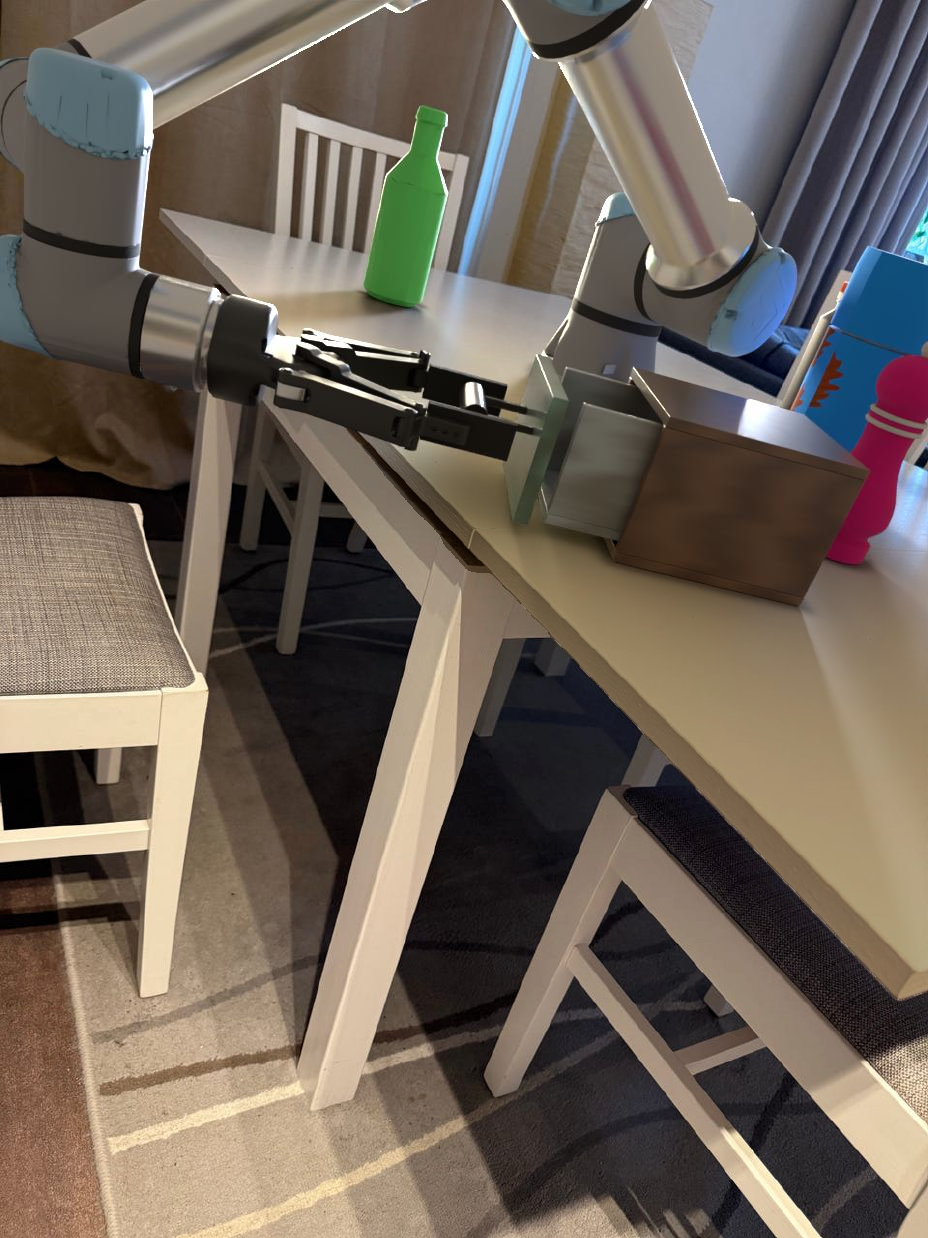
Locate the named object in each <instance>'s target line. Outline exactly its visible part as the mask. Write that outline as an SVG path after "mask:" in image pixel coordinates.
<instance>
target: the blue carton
mask: <svg viewBox="0 0 928 1238" xmlns="http://www.w3.org/2000/svg"><path fill="white" fill-rule="evenodd" d="M848 282H849V283H848V285H847V287H846V289H845V291H844V294H843V296H842V298H841V300H840V302H839V305H838V307H837V309H836V311H835V313H834V315H833V318H832V320H831V322H830V323H831V324H832V325H829V326H828V328H827V331H826V333H825V335H824V337H823V339H822V342H821V344H820V346H819V348H818V350H817V352H816V355H815V357H814V359H813V361H812V363H811V366H810V368H809V370H808V372H807V374H806V376H805V379H804V381H803V383H802V385H801V387H800V389H799V392H798V394H797V396H796V398H795V400H794V403H793V405H792V407H791V409H790V411H794V412H797V413H801V414H804V415H805V416H806V417H808V418H809V419H810V420H811V421H812V422H813V423H815V424H816V425H817V426H818V427H819V428H821V429H822V430H823V431H824V432H825V433H827V434H828V435H829V436H830V437H831V438H832V439H834V440H835V441H836V442H837V443H838V444H840V445H841V446H842V447H843V448H844V449H845V450H847V451H848V452H849V453H850V452H851V451H852V450H853V449H854V448H855V446H856V445H857V443H858V441H859V440H860V438H861V436H862V435H863V432H864V430H865V427H866V425H867V423H868V420H867V419H866V418H865V416H866V414H868V413H869V411H870V410H871V408H870V406H871V404H874V403H877V402H878V397H877V393H876V382H877V379H878V377H879V375H880V373H881V372H882V370H883V369H884V368H885V367H886V366H887V365H888V364H889V363H890V362H891V361H893V360H894V359H896V358H899V357H902V356H908V355H918V356H922V354H921V350H922V347H923V345H924V344H925V343H926V342H928V264H927V263H924V262H921V261H918V260H915V259H913V258H910V257H909V258H908V257H905V256H902V255H899V254H896V253H892V252H889V251H886V250H883V249H879V248H876V247H873V246H869V245H867V246H866V248H865V250H864V251H863V253H862V255H861V257H860V258H859V260H858V262H857V263H856V266H855V267H854V269H853V272H852V274H851V277H850V279H849V281H848Z"/></svg>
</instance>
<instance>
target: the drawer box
mask: <svg viewBox="0 0 928 1238" xmlns="http://www.w3.org/2000/svg"><path fill="white" fill-rule="evenodd" d="M628 383H629V384H632V385H636V386H637V387H638V388H639V390H640V391H641V392H642V394H643V395H644V397H645V398H646V399H647V401H648V402H649V404H650V405H651V407H652V408H653V409H654V411H655V412H656V414H657V415H658V416H659V418H660V419H661V421H662V422H663V423H664V425H663V427H662V430H661V432H660V435H659V438H658V440H657V443H656V445H655V448H654V450H653V453H652V455H651V458H650V461H649V463H648V466H647V468H646V471H645V473H644V476H643V478H642V481H641V484H640V486H639V489H638V491H637V494H636V496H635V499H634V501H633V504H632V507H631V509H630V512H629V514H628V517H627V519H626V522H625V524H624V527H623V530H622V532H621V535H620V537H619V540H618V541H616V540H612V539H608V538H604V541H605V543H606V547H607V549H608V552H609V554H610V556H611V559H612V561H613V562H614V563H617V564H623V565H626V566H630V567H634V568H639V569H642V570H646V571H647V570H648V571H651V572H656V573H660V574H663V575H668V576H672V577H675V578H676V577H677V578H679V579H683V580H689V581H693V582H697V583H702V584H705V585H710V586H714V587H718V588H721V589H722V588H723V589H727V590H730V591H734V592H738V593H743V594H746V595H750V596H755V597H759V598H763V599H768V600H772V601H776V602H781V603H784V604H788V605H792V606H797V607H800V606H801V605H802V603H803V601H804V599H805V597H806V595H807V593H808V591H809V590H810V587H811V586H812V584H813V582H814V580H815V578H816V576H817V574H818V573H819V570H820V569H821V567H822V565H823V563H824V561H825V559H826V555H827V553H828V551H829V549H830V547H831V546H832V544H833V542H834V540H835V538H836V536H837V534H838V532H839V530H840V528H841V526H842V524H843V523H844V521H845V519H846V517H847V515H848V513H849V511H850V509H851V507H852V505H853V503H854V501H855V500H856V498H857V496H858V494H859V492H860V490H861V488H862V486H863V484H864V482H865V480H866V479H867V477H868V475H869V473H870V470H869V469H868V468H867V467H866V466H864V465H863V464H862V463H861V462H860V461H858V460H857V459H856V458H855V457H854V456H853V455H851V454H850V453H849V452H848V451H847V450H845V449H844V448H843V447H842V446H841V445H840V444H838V443H837V442H836V441H835V440H834V439H832V438H831V437H830V436H829V435H828V434H827V433H825V432H824V431H823V430H822V429H821V428H819V427H818V426H817V425H816V424H815V423H813V422H812V421H811V420H810V419H809V418H808V417H806V416H805V415H804V414H801V413H797V412H794V411H790V410H786V409H783V408H780V406H775V405H772V404H769V403H766V402H765V403H764V402H761V401H758V400H754V399H750V398H747V397H743V396H739V395H735V394H731V393H729V392H725V391H722V390H717V389H715V388H712V387H711V388H710V387H706V386H703V385H699V384H695V383H692V382H689V381H685V380H681V379H677V378H675V377H671V376H667V375H663V374H660V373H656V372H655V373H653V372H649V371H646V370H642V369H638V368H635V367H633V369H632V372H631V375H630V378H629V380H628Z"/></svg>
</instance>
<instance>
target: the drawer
mask: <svg viewBox="0 0 928 1238" xmlns="http://www.w3.org/2000/svg"><path fill="white" fill-rule="evenodd" d="M530 369H531V370H530V373H529V376H528V379H527V383H526V386H525V388H524V393H523V396H522V399H521V402H520V403H516V402H512V401H510V400H509V401H508V400H505V399H504V400H501V399H498V398H494V397H490V396H486V395H485V394H484V390H483V388H482V387H481V386H480V385H479V384H477V383H474V382H469V383H466V384H465V385H463V386H462V388H461V389H460V392H459V400H460V409H464V410H468V411H472V412H476V413H479V414H483V415H487V416H491V417H495V418H499V419H502V420H506V421H510V422H514V423H517V425H518V427H517V431H516V434H515V437H514V440H513V444H512V447H511V450H510V453H509V456H508V460H507V462H506V461H502V471H503V475H504V482H505V487H506V492H507V498H508V504H509V509H510V515H511V520H512V523H513V524H517V525H522V526H526V527H528V526H529V523H530V521H531V518H532V515H533V511H534V509H535V506H536V503H537V500H538V501H539V507H540V510H541V514H542V517H543V521H544V524H546V525H551V526H555V527H559V528H563V529H568V530H572V531H576V532H580V533H584V534H589V535H593V536H596V537H601V538H603V539H605V538H608V539H612V540H616V541H618V540H619V537H620V535H621V532H622V530H623V527H624V524H625V522H626V519H627V517H628V514H629V512H630V509H631V507H632V504H633V501H634V499H635V496H636V494H637V491H638V489H639V486H640V484H641V481H642V478H643V476H644V473H645V471H646V468H647V466H648V463H649V461H650V458H651V455H652V453H653V450H654V448H655V445H656V443H657V440H658V438H659V435H660V432H661V430H662V427H663V425H664V423H663V422H662V421H661V419H660V418H659V416H658V415H657V414H656V412H655V411H654V409H653V408H652V407H651V405H650V404H649V402H648V401H647V399H646V398H645V397H644V395H643V394H642V392H641V391H640V390H639V388H638V387H637V386H636V385H632V384H629V383H625V382H621V381H618V380H614V379H610V378H607V377H603V376H599V375H596V374H592V373H588V372H585V371H581V370H577V369H574V368H570V367H565V370H564V373H563V376H562V379H561V382H560V380H559V377H558V375H557V373H556V371H555V368H554V366H553V364H552V362H551V359H550V358H549V357H546V356H543V355H542V354H539V353H536V354H535V357H534V360H533V363H532V366H531V368H530ZM486 405H489V406H493V407H496V408H500V409H501V410H504V411H508V412H512V413H515V414H517V415H516V417H515V420H512V419H508V418H504V417H500V416H499V417H497V416H493V415H490V414H488V413H487V407H486Z"/></svg>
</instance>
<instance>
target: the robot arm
mask: <svg viewBox="0 0 928 1238" xmlns="http://www.w3.org/2000/svg"><path fill="white" fill-rule="evenodd" d="M425 1H427V0H143V1H142V2H140V3H138V4H136V5H134V6H132V7H129V8H128V9H126V10H124V11H122V12H120V13H118V14H116V15H114V16H112V17H110V18H108V19H106V20H104V21H102V22H100V23H99V24H97V25H94V26H93V27H91V28H89V29H87V30H85V31H82V32H81V33H79V34H77V35H75V36H73V37H72V38H70V39H69V40H67V41H65V42H62V43H59V44H57V45H55V46H53V47H38V48H35V49H33V51H32V52H31V53H30V54H29V57H27V56H21V57H12V58H7V59H4V60H1V61H0V156H2V158H4V159H5V161H6V162H7V163H8V164H10V165H11V166H13V167H15V168H16V170H19V171H20V172H21V173H22V174H23V175H24V176H23V180H24V181H23V218H22V229H21V234H18V235H15V234H3V235H0V341H1V342H3V343H6V344H9V345H12V346H16V347H18V348H21V349H25V350H28V351H32V352H35V353H37V354H41V355H44V356H46V357H47V358H49V359H52V360H57V361H66V362H70V363H74V364H77V365H78V364H79V365H82V366H88V367H92V368H95V369H100V370H105V371H109V372H113V373H118V374H121V375H125V376H131V377H134V378H137V379H139V380H146V381H149V382H153V383H159V384H162V388H163V390H164V391H166V392H167V393H174V392H175V391H176V390H177V389H180V390H181V389H182V390H185V391H189V392H194V393H200V392H201V391H204V390H205V388H206V387H207V391H208V393H209V394H210V395H211V397H212V398H215V399H218V400H221V401H222V400H223V401H226V402H230V403H234V404H238V405H242V406H247V407H249V408H255V407H257V406H259V404H261V402H262V400H263V399H264V396H265V393H266V391H267V388H269V389H273V390H274V395H273V401H272V405H274V406H275V407H277V408H279V409H284V410H287V411H294V412H298V413H302V414H306V415H309V416H311V417H314V418H317V419H320V420H323V421H326V422H329V423H331V424H334V425H338V426H341V427H343V428H347V429H348V430H349V429H350V430H352V431H355V432H358V433H361V434H364V435H366V436H369V437H373V438H375V439H378V440H381V441H384V442H387V443H389V444H393V445H396V446H398V447H400V448H403V450H406V451H409V452H415V451H417V449H418V445H419V442H420V441H424V442H428V443H431V444H436V445H440V446H443V447H448V448H451V449H456V450H459V451H463V452H467V453H472V454H475V455H478V456H483V457H488V458H491V459H495V460H497V461H502V462H503V461H506V462H507V460H508V456H509V453H510V450H511V447H512V444H513V440H514V437H515V434H516V431H517V427H518V425H517V423H514V422H510V421H506V420H502V419H499V418H495V417H491V416H487V415H483V414H479V413H476V412H472V411H468V410H464V409H460V400H459V392H460V389H461V388H462V386H463V385H465V384H466V383H469V382H474V383H477V384H479V385H480V386H481V387H482V388H483V390H484V394H485V395H486V396H490V397H494V398H498V399H501V400H505V398H506V395H507V391H508V388H509V386H508V383H504V382H502V381H501V382H500V381H497V380H493V379H490V378H485V377H482V376H478V375H475V374H471V373H467V372H463V371H460V370H456V369H452V368H449V367H445V366H441V365H437V364H433V363H430V359H431V356H432V354H431V352H429V351H426V350H423V349H420V351H419V353H418V352H417V351H410V350H404V349H398V348H394V347H390V346H384V345H380V344H375V343H369V342H364V341H359V340H355V339H350V338H343V337H341V336H340V337H339V336H334V335H330V334H327V333H323V332H320V331H318V330H317V331H316V330H314V329H312V328H303V329H302V332H301V335H300V337H293V336H287V335H285V336H284V335H282V334H280V333H279V332H278V327H279V313H278V310H277V308H276V306H274V304H271V303H267V302H264V301H260V300H257V299H253V298H249V297H246V296H242V295H238V294H235V293H231V294H230V295H226V296H225V297H224V298H222V295H221V293H220V291H219V289H217V288H215V287H211V286H207V285H203V284H199V283H196V282H192V281H188V280H184V279H182V278H181V279H180V278H177V277H173V276H169V275H165V274H161V273H160V274H159V273H156V272H151V271H148V270H146V269H144V268H141V267H140V255H141V247H142V235H143V225H144V216H145V207H146V206H145V205H146V195H147V194H146V193H147V186H148V176H149V167H150V157H151V150H152V149H153V144H154V133H153V131H154V130H156V129H158V128H159V127H161V126H163V125H165V124H167V123H169V122H171V121H172V120H175V119H176V118H179V117H180V116H182V115H184V114H186V113H187V112H189V111H191V110H193V109H196V108H197V107H199V106H201V105H202V104H204V103H207V102H208V101H210V100H212V99H214V98H216V97H218V96H219V95H221V94H223V93H225V92H227V91H229V90H231V89H233V88H234V87H236V86H238V85H240V84H242V83H244V82H246V81H247V80H249V79H251V78H253V77H255V76H256V75H258V74H260V73H263V72H264V71H266V70H268V69H270V68H271V67H274V66H275V65H277V64H279V63H280V62H282V61H284V60H287V59H289V58H290V57H292V56H294V55H296V54H298V53H299V52H301V51H303V50H305V49H307V48H310V47H311V46H313V45H314V44H317V43H319V42H320V41H322V40H324V39H326V38H327V37H330V36H331V35H334V34H335V33H337V32H338V31H341V30H342V29H345V28H346V27H348V26H351V25H352V24H354V23H356V22H357V21H359V20H362V19H363V18H365V17H367V16H369V15H370V14H373V13H374V12H376V11H378V10H380V9H382V8H384V7H386V8H387V9H389V10H391V11H393V12H395V13H403V12H405V11H408V10H410V9H411V8H413V7H415V6H417V5H419V4H421V3H424V2H425ZM502 1H503V3H504V4H505V5H506V7H507V8H508V10H509V12H510V14H511V16H512V18H513V20H514V21H515V23H516V26H517V27H518V29H519V31H520V33H521V35H522V36H523V38H524V40H525V42H526V43H527V45H528V48H529V50H530V52H531V53H532V54H533V56H534V57H536V58H537V59H538V60H541V61H544V62H549V63H557V64H559V66H560V69H561V70H562V72H563V74H564V76H565V78H566V80H567V82H568V84H569V85H570V88H571V90H572V92H573V94H574V96H575V98H576V99H577V101H578V105H580V108H581V110H582V112H583V113H584V115H585V118H586V119H587V121H588V123H589V125H590V127H591V129H592V131H593V133H594V135H595V137H596V139H597V141H598V144H599V145H600V147H601V149H602V151H603V153H604V155H605V157H606V159H607V161H608V163H609V165H610V167H611V169H612V171H613V172H614V175H615V176H616V178H617V180H618V182H619V185H620V186H621V189H622V191H619V192H614V193H613V194H611V195H610V196H608V197H607V199H606V200H605V202H604V204H603V207H602V210H601V212H600V215H599V218H598V220H597V221H596V222H595V224H594V228H593V233H592V235H591V239H590V243H589V246H588V248H587V252H586V254H585V255H586V256H585V259H584V263H583V266H582V269H581V271H580V275H579V279H578V282H577V284H576V289H575V292H574V295H573V299H572V302H571V305H570V308H569V311H568V314H567V316H566V317H565V319H564V320H563V322H562V323H561V325H560V326H559V328H558V329H557V331H555V334H554V335H553V336H552V338H551V339H550V340H549V342H548V343H547V345H546V347H545V348H544V349H543V351H542V353H541V355H543V356H546V357H549V358H550V359H551V362H552V364H553V366H554V368H555V371H556V373H557V375H558V377H559V380H560V382H561V379H562V376H563V373H564V370H565V367H570V368H574V369H577V370H581V371H585V372H588V373H592V374H596V375H599V376H603V377H607V378H610V379H614V380H618V381H621V382H625V383H628V380H629V378H630V375H631V372H632V369H633V367H635V368H638V369H642V370H646V371H649V372H653V373H656V357H657V356H656V355H657V345H658V340H659V338H660V334H661V332H662V329H663V328H666V329H668V330H670V331H672V332H673V333H676V334H679V335H680V336H683V337H684V338H686V339H689V340H691V341H693V342H695V343H698V344H700V345H701V346H703V347H705V348H707V349H708V351H711V352H712V353H720V354H722V355H725V356H728V357H730V358H731V357H733V358H737V357H741V356H745V355H748V354H750V353H752V352H754V351H755V350H757V349H759V348H760V347H761V346H763V344H764V343H765V342H767V341H768V339H770V337H771V336H772V335H773V334H774V333H775V331H776V330H777V329H778V327H779V326H780V324H781V323H782V322H783V320H784V318H785V316H786V314H787V312H788V311H789V308H790V304H791V303H792V301H793V299H794V297H795V293H796V288H797V283H798V268H797V263H796V260H795V259H794V258H793V256H792V255H791V254H789V253H788V252H786V251H784V249H783V248H782V247H779V246H775V247H772V246H770V245H768V244H767V243H766V242H765V241H764V239H763V237H762V234H761V231H760V228H759V226H758V224H757V221H756V218H755V215H754V213H753V211H752V210H751V209H750V206H748V205H747V204H746V203H745V202H743V201H741V200H739V199H736V198H732V197H730V195H729V192H728V190H727V188H726V185H725V183H724V180H723V178H722V177H723V176H722V175H721V173H720V170H719V167H718V165H717V162H716V160H715V156H714V154H713V152H712V150H711V147H710V144H709V141H708V139H707V136H706V134H705V132H704V129H703V125H702V123H701V121H700V118H699V116H698V112H697V110H696V108H695V106H694V103H693V101H692V97H691V95H690V92H689V91H688V87H687V85H686V82H685V80H684V77H683V74H682V72H681V69H680V68H679V65H678V62H677V60H676V57H675V54H674V52H673V49H672V46H671V44H670V41H669V39H668V36H667V33H666V30H665V29H664V26H663V24H662V20H661V17H660V16H659V13H658V10H657V8H656V5H655V3H654V0H502ZM396 391H400V392H409V393H415V394H417V393H418V394H420V393H421V399H423V400H427V401H428V402H427V405H426V404H424V403H423V402H421V401H417V400H415V399H413V398H410V397H407V396H405V395H403V394H400V393H399V392H396ZM486 407H487V413H488V414H490V415H493V416H497V417H500V414H501V411H502V409H500V408H496V407H493V406H489V405H486Z"/></svg>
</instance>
